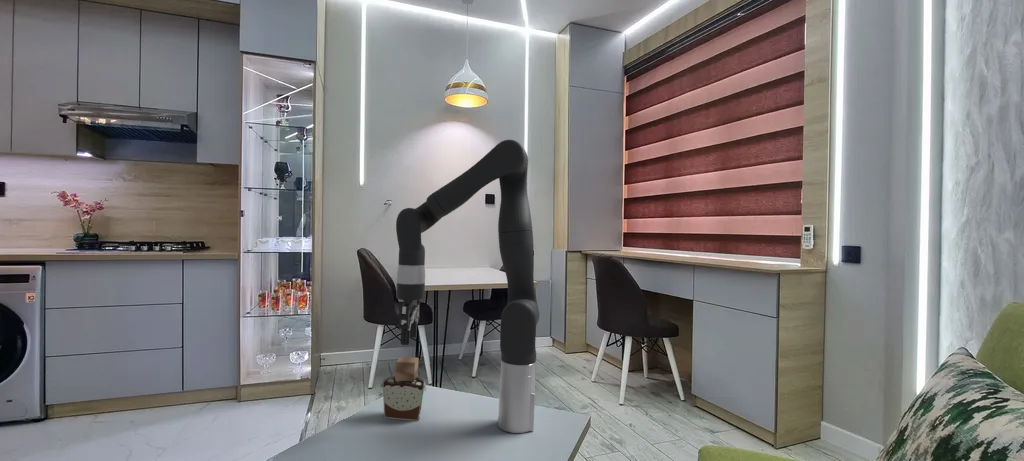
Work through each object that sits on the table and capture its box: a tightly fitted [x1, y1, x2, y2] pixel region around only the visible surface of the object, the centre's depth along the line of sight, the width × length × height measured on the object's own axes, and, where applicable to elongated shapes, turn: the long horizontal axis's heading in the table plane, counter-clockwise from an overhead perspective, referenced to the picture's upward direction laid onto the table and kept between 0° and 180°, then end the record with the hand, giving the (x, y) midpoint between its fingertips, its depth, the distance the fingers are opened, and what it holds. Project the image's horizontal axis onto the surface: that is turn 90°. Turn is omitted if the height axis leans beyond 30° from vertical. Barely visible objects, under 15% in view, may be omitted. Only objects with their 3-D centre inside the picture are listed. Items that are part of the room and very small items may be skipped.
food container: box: [380, 375, 427, 422], centre depth 122 cm, size 12×6×10 cm, turn 84°
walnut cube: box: [394, 356, 420, 381], centre depth 122 cm, size 5×5×5 cm
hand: (408, 340), depth 123 cm, fingers open, 8 cm apart
